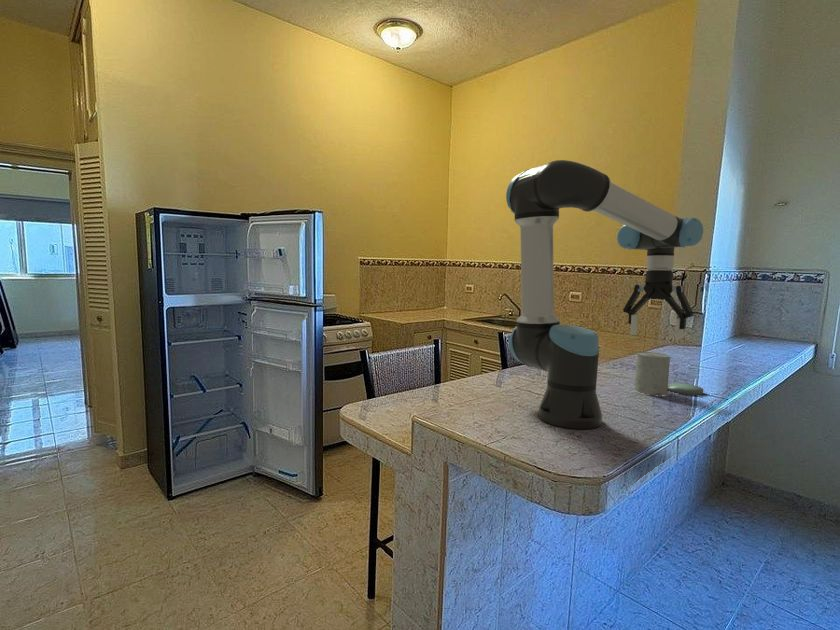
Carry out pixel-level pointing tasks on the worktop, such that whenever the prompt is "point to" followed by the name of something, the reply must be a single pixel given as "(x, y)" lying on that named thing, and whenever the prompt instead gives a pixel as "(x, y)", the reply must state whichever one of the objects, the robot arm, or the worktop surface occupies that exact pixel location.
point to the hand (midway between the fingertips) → (654, 337)
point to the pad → (685, 389)
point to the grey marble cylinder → (652, 373)
